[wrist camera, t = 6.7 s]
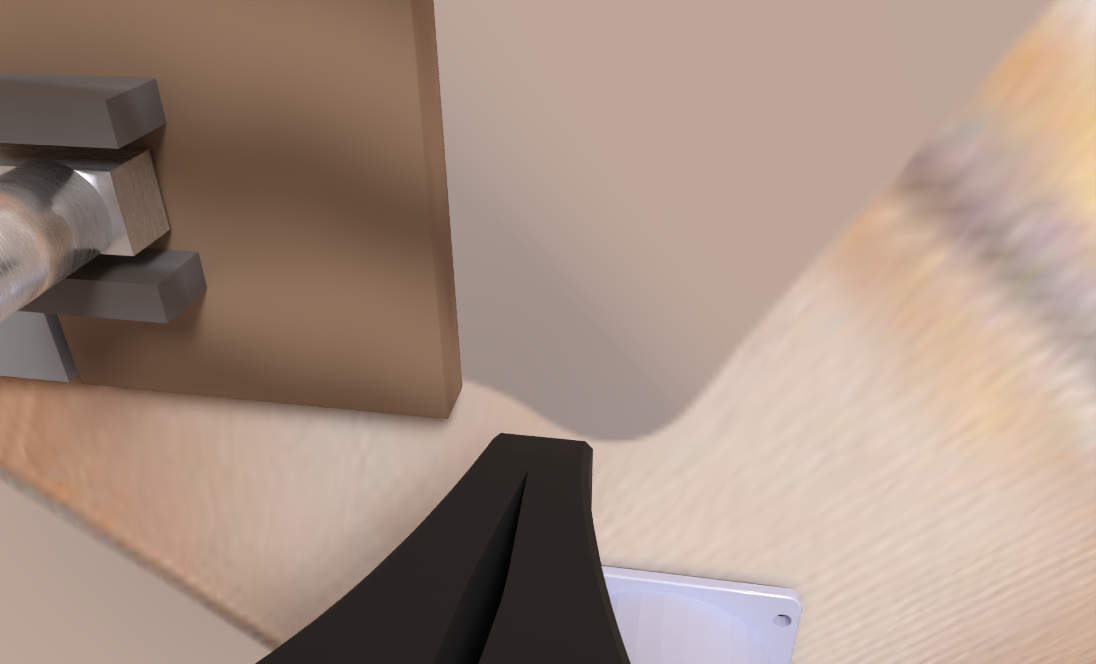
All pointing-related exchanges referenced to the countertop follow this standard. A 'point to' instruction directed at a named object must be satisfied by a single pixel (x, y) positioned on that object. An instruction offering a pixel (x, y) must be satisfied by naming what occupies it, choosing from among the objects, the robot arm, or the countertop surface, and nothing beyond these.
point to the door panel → (255, 195)
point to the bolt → (70, 213)
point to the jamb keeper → (35, 348)
